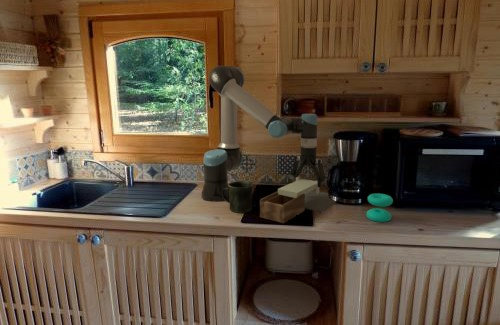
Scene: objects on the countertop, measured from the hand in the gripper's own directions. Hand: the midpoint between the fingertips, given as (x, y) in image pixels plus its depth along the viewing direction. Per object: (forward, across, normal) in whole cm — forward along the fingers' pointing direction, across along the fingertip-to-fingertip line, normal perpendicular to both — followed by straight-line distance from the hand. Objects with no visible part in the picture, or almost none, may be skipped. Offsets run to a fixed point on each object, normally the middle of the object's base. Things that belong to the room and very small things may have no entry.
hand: (307, 191), depth 173 cm
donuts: (+5, +36, -4) cm, 36 cm away
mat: (+5, +4, +2) cm, 6 cm away
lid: (-2, 0, -8) cm, 8 cm away
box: (+5, 0, -23) cm, 23 cm away
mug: (+5, -20, -30) cm, 36 cm away
